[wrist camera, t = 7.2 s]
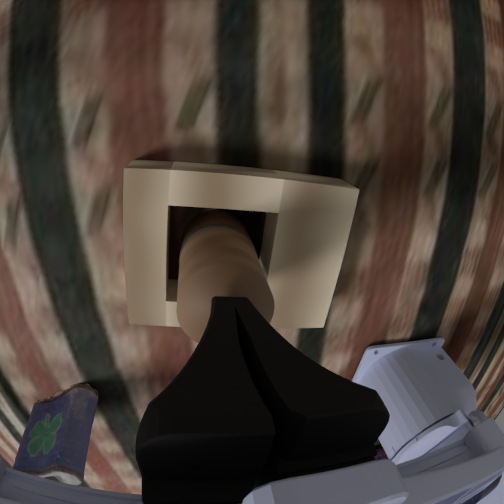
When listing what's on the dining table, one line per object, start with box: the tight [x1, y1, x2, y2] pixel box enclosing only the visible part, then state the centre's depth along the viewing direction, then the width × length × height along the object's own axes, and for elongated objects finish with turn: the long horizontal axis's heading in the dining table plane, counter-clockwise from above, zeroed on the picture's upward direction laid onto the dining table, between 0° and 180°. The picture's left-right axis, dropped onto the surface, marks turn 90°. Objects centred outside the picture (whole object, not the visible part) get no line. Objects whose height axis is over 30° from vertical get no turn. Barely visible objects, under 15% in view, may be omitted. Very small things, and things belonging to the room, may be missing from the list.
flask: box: [13, 384, 98, 485], centre depth 19 cm, size 9×3×11 cm, turn 117°
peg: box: [176, 210, 275, 343], centre depth 16 cm, size 4×4×7 cm
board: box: [123, 160, 359, 328], centre depth 18 cm, size 12×9×2 cm
